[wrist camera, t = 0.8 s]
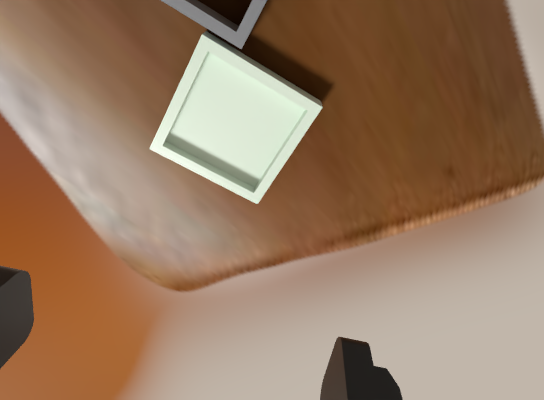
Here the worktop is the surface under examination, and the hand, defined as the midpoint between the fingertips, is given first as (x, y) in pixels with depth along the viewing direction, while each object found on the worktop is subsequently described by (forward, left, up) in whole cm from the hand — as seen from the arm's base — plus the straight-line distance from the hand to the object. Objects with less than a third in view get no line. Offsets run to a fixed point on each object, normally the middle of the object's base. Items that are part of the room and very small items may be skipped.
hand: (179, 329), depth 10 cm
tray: (0, -3, -24) cm, 24 cm away
